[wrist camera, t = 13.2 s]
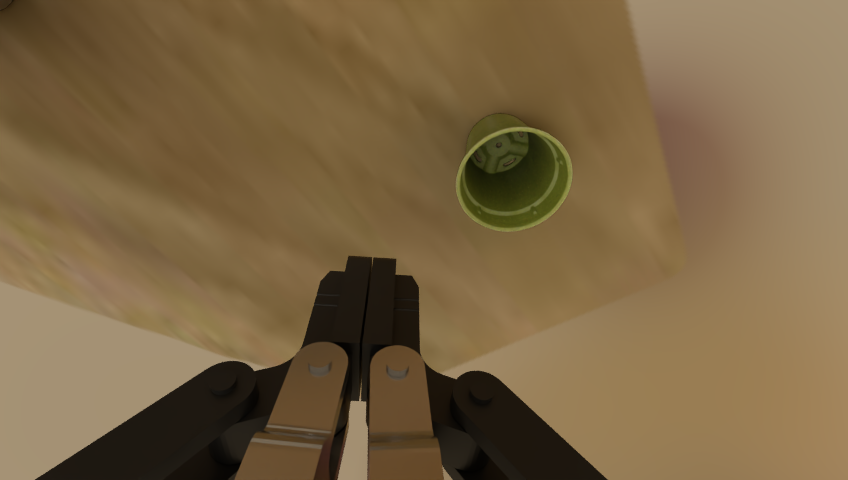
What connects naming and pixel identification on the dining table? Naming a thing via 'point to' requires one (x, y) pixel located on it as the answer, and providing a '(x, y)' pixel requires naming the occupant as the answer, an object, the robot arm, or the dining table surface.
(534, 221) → the plant pot
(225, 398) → the robot arm
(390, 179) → the dining table surface
